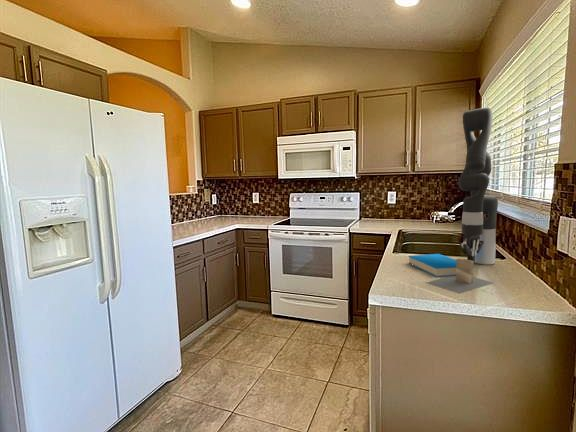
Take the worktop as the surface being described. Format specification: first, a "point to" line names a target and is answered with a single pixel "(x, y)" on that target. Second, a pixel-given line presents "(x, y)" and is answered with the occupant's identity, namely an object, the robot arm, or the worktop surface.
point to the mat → (458, 284)
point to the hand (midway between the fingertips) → (470, 264)
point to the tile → (464, 270)
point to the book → (434, 264)
